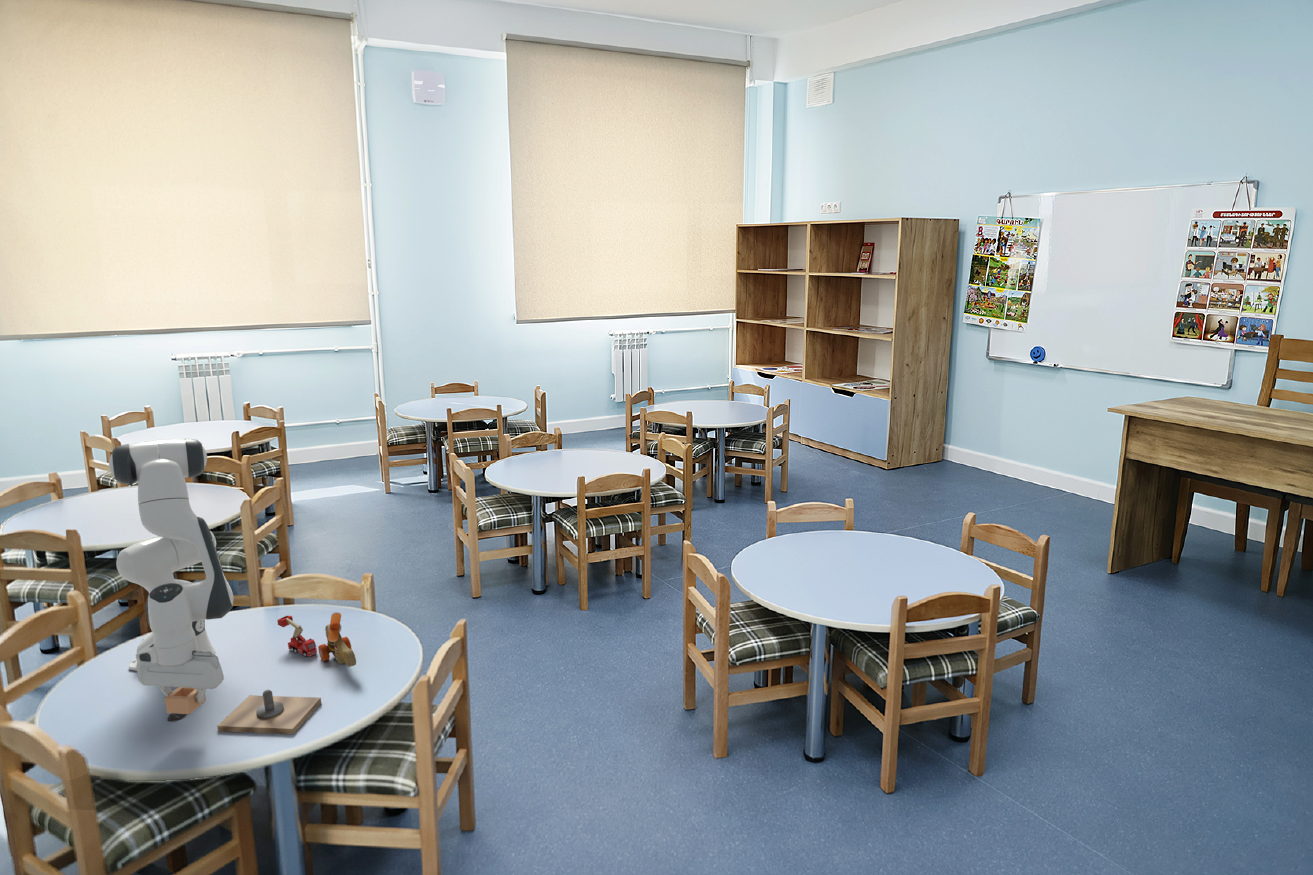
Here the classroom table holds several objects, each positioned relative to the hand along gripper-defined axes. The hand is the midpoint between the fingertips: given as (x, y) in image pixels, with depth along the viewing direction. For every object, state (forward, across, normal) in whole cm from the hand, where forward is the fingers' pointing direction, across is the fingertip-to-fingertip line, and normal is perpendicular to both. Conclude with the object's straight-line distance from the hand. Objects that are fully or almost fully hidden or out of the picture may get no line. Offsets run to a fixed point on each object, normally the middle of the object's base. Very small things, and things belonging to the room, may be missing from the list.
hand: (185, 700), depth 202 cm
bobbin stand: (+9, -16, -9) cm, 20 cm away
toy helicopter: (+10, -21, -36) cm, 43 cm away
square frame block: (+2, 0, 0) cm, 2 cm away
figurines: (+10, +9, -10) cm, 17 cm away
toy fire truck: (+10, -4, -43) cm, 44 cm away
